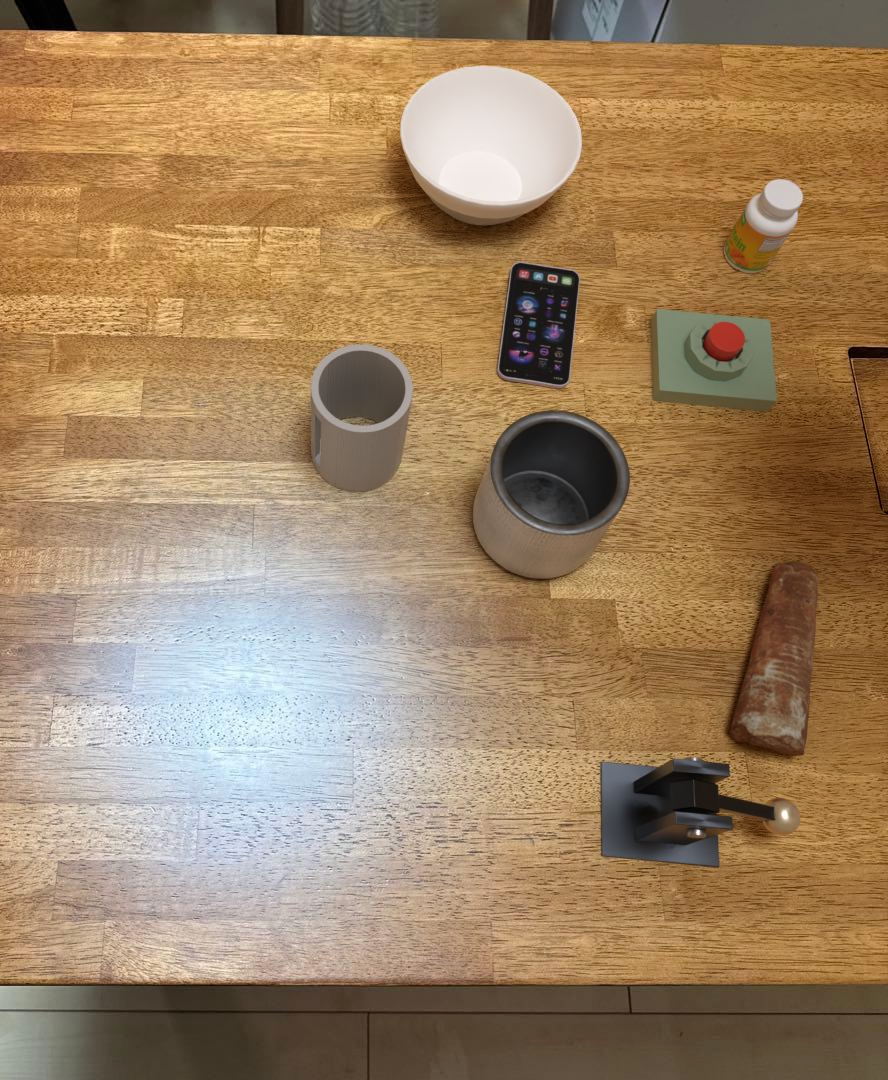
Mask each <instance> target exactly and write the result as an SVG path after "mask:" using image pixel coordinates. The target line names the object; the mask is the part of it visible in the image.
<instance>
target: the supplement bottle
mask: <svg viewBox="0 0 888 1080" xmlns="http://www.w3.org/2000/svg"><path fill="white" fill-rule="evenodd" d="M803 200H804V195H803V191H802V190H801V188H800V187H799V186H798V184H796V183H795V182H793V181H791V180H788V179H783V178H780V179H779V178H776V179H773V180H771V181H769V182H768V183H767V184H766V185H765V187H764V188H763V190H762V191H761V192H760V193H757V194H756V195H754V196H753V197H752V198H751V199H750V200H749V201H748V202H747V204H746V206H745V208H744V210H743V211H742V213H741V214H740V216H739V218H738V220H737V221H736V223H735V225H734V227H733V229H732V230H731V232H730V234H729V236H728V237H727V239H726V241H725V243H724V245H723V256H724V255H725V256H724V259H725V260H726V262H727V263H728V264H729V266H731V267H732V268H733V269H735V270H736V271H738V270H739V272H741V273H744V274H758V273H761V272H763V271H764V270H766V269H767V268H768V267H770V265H771V264H772V262H773V261H774V260H775V257H776V256H777V255H778V253H779V251H780V250H781V248H782V247H783V246H784V243H786V241H787V239H788V237H789V236H790V234H791V233H792V232H793V230H794V228H795V226H796V225H797V223H798V219H799V212H798V210H799V208H800V206H801V205H802V203H803Z"/></svg>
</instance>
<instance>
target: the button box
mask: <svg viewBox="0 0 888 1080" xmlns="http://www.w3.org/2000/svg"><path fill="white" fill-rule="evenodd" d="M649 322H650V349H651V351H650V354H651V379H652V380H651V381H652V383H651V384H652V401H653V402H660V403H671V404H680V405H682V404H683V405H691V406H703V407H712V408H724V409H735V410H745V411H755V412H765V413H766V412H770V411H771V409H772V408H773V407H774V406H775V405H776V403H777V402H778V393H777V384H776V383H777V382H776V373H775V360H774V359H775V358H774V349H773V338H772V337H773V336H772V327H771V319H769V318H757V317H746V316H738V315H737V316H736V315H727V314H714V313H705V312H695V311H684V310H683V311H682V310H672V309H661V308H656V309H655V311H654V314H653V315H652V317H651V319H650V321H649ZM719 322H730V323H733V324H735V325H737V326H738V327H739V328H740V329H741V330H742V331H743V333H744V336H745V343H744V345H743V347H742V348H741V350H740V351H739V353H738V354H737V355H736V357H735V358H733V359H731V360H729V361H719V360H716V359H714V358H712V357H711V356H709V355H708V354H707V352H706V351H705V349H704V339H705V337H706V336H707V334H708V332H709V331H710V329H711V328H712V326H713V325H715V324H717V323H719Z"/></svg>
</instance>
